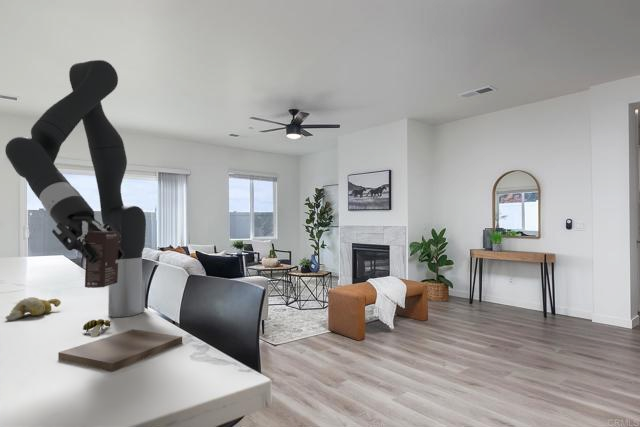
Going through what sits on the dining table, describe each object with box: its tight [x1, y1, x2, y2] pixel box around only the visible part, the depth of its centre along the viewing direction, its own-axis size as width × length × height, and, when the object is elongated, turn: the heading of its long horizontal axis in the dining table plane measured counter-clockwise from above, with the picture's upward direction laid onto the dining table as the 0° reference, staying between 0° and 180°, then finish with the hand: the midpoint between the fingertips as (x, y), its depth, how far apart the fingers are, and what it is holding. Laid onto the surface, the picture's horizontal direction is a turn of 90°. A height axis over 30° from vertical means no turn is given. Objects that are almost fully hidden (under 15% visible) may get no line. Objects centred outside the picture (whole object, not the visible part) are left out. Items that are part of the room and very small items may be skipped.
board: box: [57, 328, 183, 372], centre depth 83 cm, size 18×16×2 cm
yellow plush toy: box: [5, 296, 62, 321], centre depth 116 cm, size 10×6×15 cm
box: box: [84, 231, 120, 289], centre depth 84 cm, size 6×4×12 cm
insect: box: [82, 318, 113, 339], centre depth 98 cm, size 11×6×5 cm, turn 16°
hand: (108, 258), depth 83 cm, fingers closed on box, 6 cm apart
